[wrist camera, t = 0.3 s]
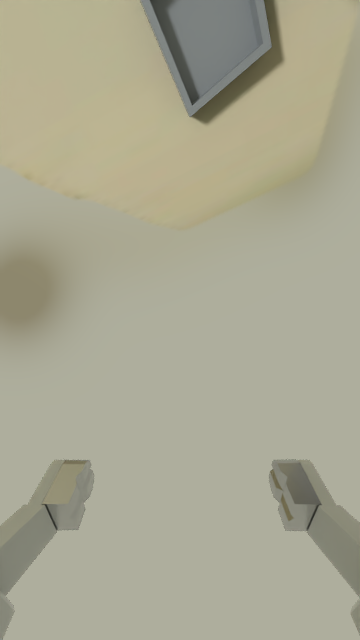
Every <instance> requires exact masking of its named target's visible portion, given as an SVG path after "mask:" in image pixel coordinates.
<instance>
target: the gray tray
mask: <svg viewBox="0 0 360 640" xmlns="http://www.w3.org/2000/svg"><path fill="white" fill-rule="evenodd" d="M140 2H141V4H142V6H143V9H144V11H145V14H146V16H147V18H148V21H149V23H150V25H151V28H152V30H153V32H154V35H155V37H156V40H157V42H158V44H159V47H160V49H161V51H162V54H163V56H164V59H165V61H166V63H167V66H168V68H169V70H170V73H171V75H172V78H173V80H174V82H175V85H176V87H177V89H178V92H179V94H180V96H181V99H182V101H183V104H184V106H185V108H186V111H187V113H188V115H189V117H191V116H192V115H193V114H194V113H195V112H197V111H198V110H199V109H200V108H201V107H202V106H204V105H205V104H206V103H207V102H208V101H209V100H211V99H212V98H213V97H214V96H215V95H216V94H218V93H219V92H220V91H221V90H222V89H223V88H225V87H226V86H227V85H228V84H229V83H230V82H232V81H233V80H234V79H235V78H236V77H237V76H239V75H240V74H241V73H242V72H243V71H244V70H246V69H247V68H248V67H249V66H250V65H251V64H253V63H254V62H255V61H256V60H257V59H259V58H260V57H261V56H262V55H263V54H264V53H266V52H267V51H268V50H269V49H270V48H271V47H272V45H271V39H270V33H269V27H268V22H267V16H266V10H265V4H264V0H140Z"/></svg>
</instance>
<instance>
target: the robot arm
mask: <svg viewBox="0 0 360 640" xmlns="http://www.w3.org/2000/svg"><path fill="white" fill-rule="evenodd" d="M90 467H91V463H90V460H54V461H53V462H52V463H51V464H50V466H49V468H48V470H47V471H46V473H45V475H44V477H43V478H42V480H41V482H40V484H39V486H38V487H37V489H36V491H35V493H34V494H33V496H32V498H31V499H30V501H29V503H28V505H23V506H22V507H21V508H20V509H19V510H18V511H16V513H14V514H13V515H12V516H11V517H10V518H9V519H7V520H6V521H5V522H4V523H3V524H2V525H1V526H0V640H2V639H3V636H4V635H5V632H6V630H7V628H8V625H9V623H10V621H11V618H12V616H13V614H14V606H13V604H12V603H11V602H10V601H9V600H8V599H7V597H6V595H7V593H8V592H9V591H10V590H11V588H12V587H13V586H14V585H15V584H16V582H17V581H18V580H19V579H20V577H21V576H22V575H23V574H24V572H25V571H26V570H27V569H28V567H29V566H30V565H31V564H32V562H33V561H34V560H35V559H36V558H37V556H38V555H39V554H40V553H41V551H42V550H43V549H44V548H45V546H46V545H47V544H48V543H49V541H50V540H51V539H52V538H53V536H54V535H55V534H56V533H57V530H78V529H79V526H80V523H81V520H82V518H83V515H84V512H85V505H84V502H85V501H86V500H87V499H88V498H89V497H90V494H91V491H92V488H93V483H94V473H93V471H92V470H91V469H90ZM272 467H273V469H272V470H271V471H270V474H269V482H270V487H271V491H272V493H273V496H274V498H275V499H276V500H277V501H278V502H279V508H278V511H279V514H280V517H281V520H282V522H283V525H284V528H285V530H287V531H307V533H308V535H309V536H310V537H311V538H312V539H313V541H314V542H315V543H316V544H317V545H318V547H319V548H320V549H321V550H322V552H323V553H324V554H325V556H326V557H327V558H328V559H329V560H330V562H331V563H332V564H333V565H334V566H335V568H336V569H337V570H338V572H339V573H340V574H341V575H342V576H343V578H344V579H345V580H346V581H347V583H348V584H349V585H350V586H351V588H352V589H353V590H354V591H355V592H356V594H357V595H358V596H359V600H358V601H357V602H356V603H355V605H354V606H353V607H352V609H351V616H352V618H353V621H354V623H355V625H356V627H357V630H358V632H359V634H360V523H359V522H358V521H357V520H356V519H355V518H354V517H353V516H351V515H350V514H349V513H348V512H347V511H346V510H345V509H344V508H343V507H341V506H340V505H336V504H335V502H334V500H333V498H332V497H331V495H330V493H329V492H328V490H327V488H326V486H325V484H324V483H323V481H322V479H321V478H320V476H319V474H318V472H317V470H316V469H315V467H314V465H313V464H312V462H311V461H310V460H296V459H295V460H294V459H292V460H274V461H273V462H272Z"/></svg>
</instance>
